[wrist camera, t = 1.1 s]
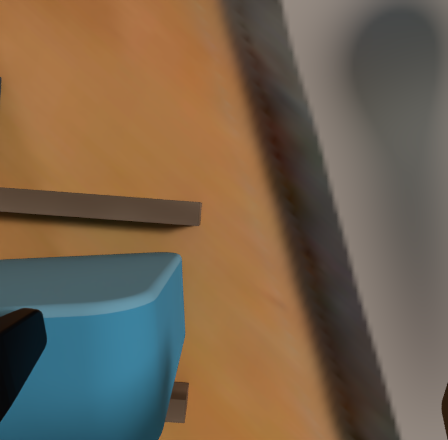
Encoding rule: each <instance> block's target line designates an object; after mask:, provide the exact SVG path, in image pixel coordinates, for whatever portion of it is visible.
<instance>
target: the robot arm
mask: <svg viewBox="0 0 448 440" xmlns="http://www.w3.org/2000/svg"><path fill="white" fill-rule="evenodd" d="M46 344H47V334H46V328H45V323H44V317H43V313H42V312H41V311H40V310H38V309H32V308H21V309H18V310H16V311H13V312H11V313H8V314H6V315H3V316H1V317H0V422H1V421H2V419H3V418H4V416H5V415H6V413H7V412H8V410H9V409H10V407H11V406H12V404H13V403H14V401H15V399H16V398H17V396H18V394H19V393H20V391H21V389H22V387H23V386H24V384H25V382H26V380H27V379H28V377H29V375H30V374H31V372H32V370H33V368H34V367H35V365H36V363H37V361H38V360H39V358H40V356H41V354H42V353H43V351H44V349H45V347H46ZM442 415H443V420H444V425H445V429H446V434H447V439H448V384H447V387H446V390H445V394H444V397H443V400H442Z"/></svg>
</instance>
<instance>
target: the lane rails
mask: <svg viewBox="0 0 448 440" xmlns="http://www.w3.org/2000/svg"><path fill="white" fill-rule="evenodd" d="M201 207H202V203H201V202H189V201H175V200H162V199H149V198H135V197H122V196H108V195H95V194H82V193H68V192H55V191H42V190H28V189H15V188H1V187H0V211H2V212H15V213H29V214H43V215H56V216H70V217H83V218H97V219H111V220H124V221H138V222H152V223H165V224H179V225H193V226H199V225H200V221H201ZM188 386H189V383H183V382H174V385H173V389H172V393H171V397H170V402H169V406H168V410H167V414H166V418H165V422H176V423H184V422H185V415H186V408H187V399H188Z"/></svg>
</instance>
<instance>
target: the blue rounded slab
mask: <svg viewBox="0 0 448 440" xmlns="http://www.w3.org/2000/svg"><path fill="white" fill-rule="evenodd" d="M21 308H32V309H38V310H40V311H41V312H42V313H43V317H44V323H45V328H46V334H47V344H46V347H45V349H44V351H43V353H42V354H41V356H40V358H39V360H38V361H37V363H36V365H35V367H34V368H33V370H32V372H31V374H30V375H29V377H28V379H27V380H26V382H25V384H24V386H23V387H22V389H21V391H20V393H19V394H18V396H17V398H16V399H15V401H14V403H13V404H12V406H11V407H10V409H9V410H8V412H7V413H6V415H5V416H4V418H3V419H2V421H1V422H0V440H158V439H159V437H160V435H161V433H162V430H163V427H164V423H165V418H166V414H167V410H168V406H169V402H170V397H171V393H172V389H173V385H174V380H175V376H176V372H177V368H178V364H179V359H180V355H181V351H182V347H183V343H184V338H185V320H184V299H183V278H182V259H181V256H180V255H179V254H176V253H168V252H155V253H134V254H112V255H91V256H70V257H48V258H27V259H6V260H0V317H1V316H3V315H6V314H8V313H11V312H13V311H16V310H18V309H21Z"/></svg>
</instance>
